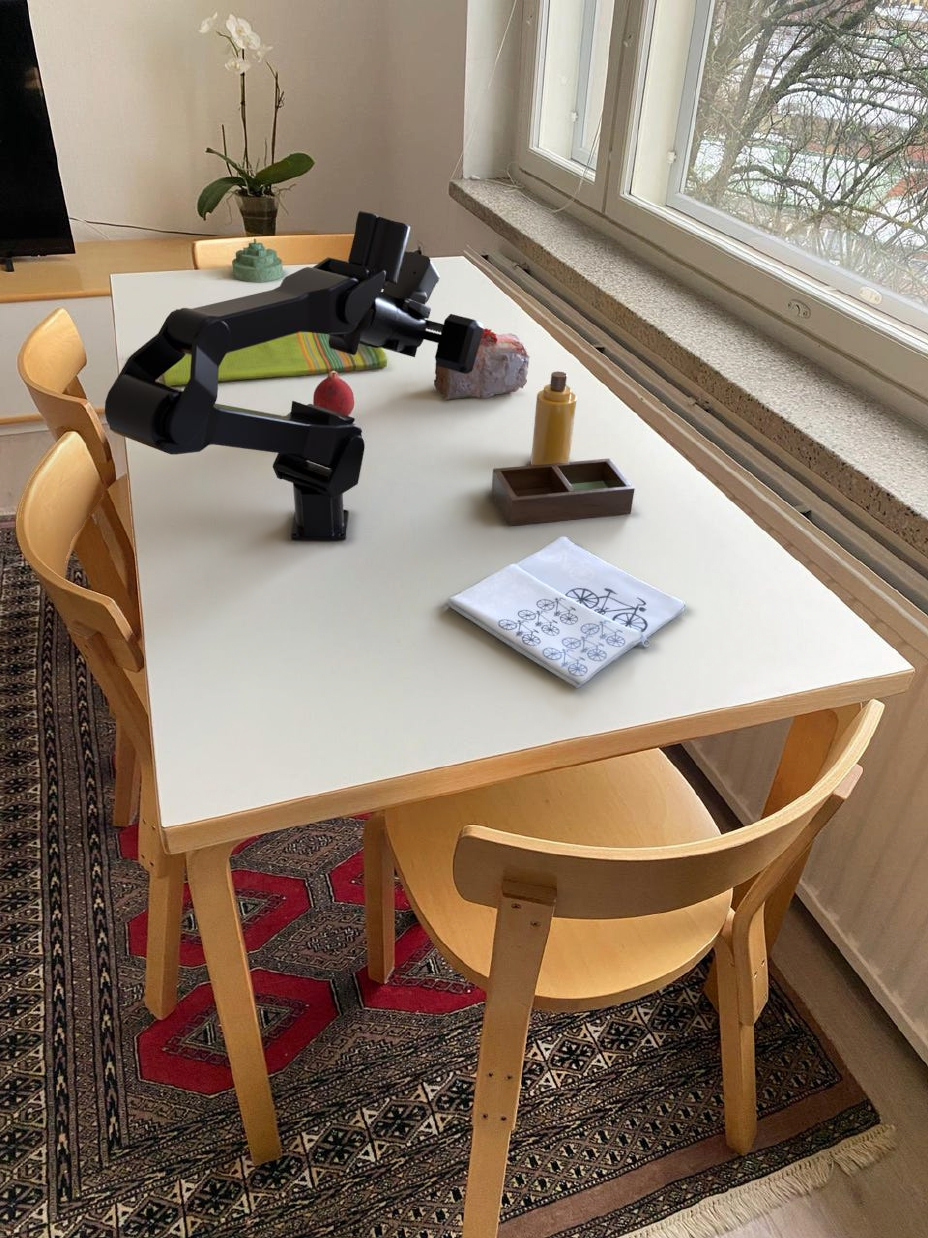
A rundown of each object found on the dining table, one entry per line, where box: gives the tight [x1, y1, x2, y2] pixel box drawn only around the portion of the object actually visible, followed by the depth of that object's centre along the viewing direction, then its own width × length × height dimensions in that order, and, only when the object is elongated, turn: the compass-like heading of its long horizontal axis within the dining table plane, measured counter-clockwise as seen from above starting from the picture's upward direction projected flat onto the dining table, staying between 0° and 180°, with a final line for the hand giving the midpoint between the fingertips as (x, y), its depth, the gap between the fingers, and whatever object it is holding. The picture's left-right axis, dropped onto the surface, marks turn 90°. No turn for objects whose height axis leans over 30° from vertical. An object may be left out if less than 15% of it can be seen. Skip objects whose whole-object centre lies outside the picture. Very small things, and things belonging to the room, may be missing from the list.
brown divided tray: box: [490, 458, 636, 527], centre depth 118 cm, size 8×16×4 cm, turn 105°
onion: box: [312, 371, 355, 416], centre depth 132 cm, size 6×6×8 cm
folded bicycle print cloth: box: [444, 535, 687, 689], centre depth 99 cm, size 19×20×2 cm
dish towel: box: [162, 332, 388, 387], centre depth 152 cm, size 15×36×3 cm, turn 109°
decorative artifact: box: [231, 238, 284, 283], centre depth 189 cm, size 10×7×10 cm
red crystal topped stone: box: [433, 328, 531, 400], centre depth 144 cm, size 14×8×10 cm, turn 111°
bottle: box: [530, 371, 578, 465], centre depth 124 cm, size 5×5×13 cm
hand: (442, 343), depth 121 cm, fingers open, 9 cm apart
